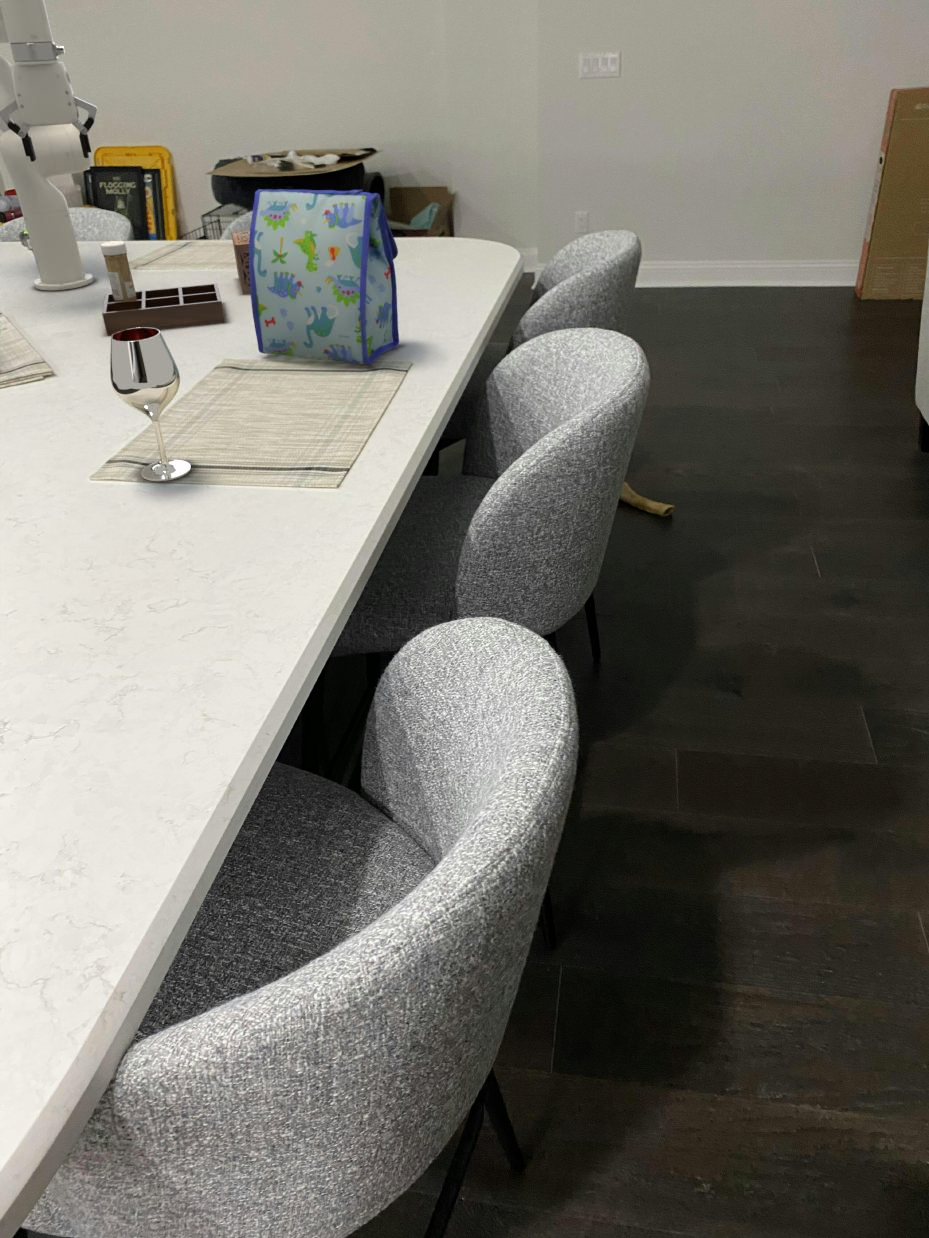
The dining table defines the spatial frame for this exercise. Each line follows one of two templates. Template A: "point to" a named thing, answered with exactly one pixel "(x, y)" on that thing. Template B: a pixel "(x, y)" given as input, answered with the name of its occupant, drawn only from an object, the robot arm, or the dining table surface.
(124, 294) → the sprinkles bottle
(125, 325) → the tray
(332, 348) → the lunch bag
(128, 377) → the wineglass
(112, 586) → the dining table surface
